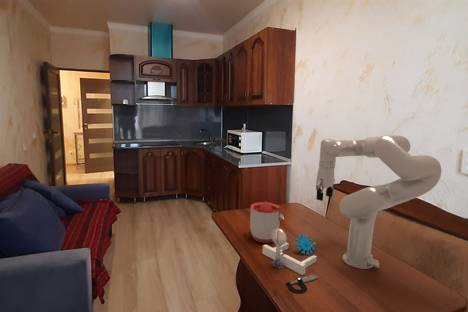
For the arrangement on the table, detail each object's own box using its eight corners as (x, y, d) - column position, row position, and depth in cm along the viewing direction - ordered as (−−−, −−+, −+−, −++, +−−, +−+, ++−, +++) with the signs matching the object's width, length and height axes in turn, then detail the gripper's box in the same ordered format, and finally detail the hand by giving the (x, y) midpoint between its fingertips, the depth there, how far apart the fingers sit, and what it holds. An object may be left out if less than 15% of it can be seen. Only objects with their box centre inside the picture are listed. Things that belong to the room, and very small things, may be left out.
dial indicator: (290, 265, 122) (292, 229, 119) (281, 270, 118) (283, 232, 115) (277, 259, 127) (280, 224, 124) (268, 263, 123) (270, 227, 120)
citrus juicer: (281, 247, 138) (284, 208, 135) (246, 243, 141) (248, 204, 138) (283, 234, 153) (285, 198, 150) (251, 230, 156) (252, 195, 153)
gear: (299, 254, 129) (294, 232, 135) (293, 258, 133) (288, 237, 139) (319, 254, 132) (314, 233, 138) (312, 258, 137) (307, 238, 143)
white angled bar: (321, 264, 124) (322, 255, 123) (302, 275, 115) (302, 265, 114) (281, 245, 140) (282, 237, 140) (262, 253, 131) (262, 245, 131)
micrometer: (294, 296, 102) (295, 290, 102) (283, 285, 108) (284, 279, 108) (327, 287, 108) (327, 281, 108) (315, 277, 114) (315, 271, 114)
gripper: (328, 161, 148) (325, 193, 151) (311, 165, 136) (308, 199, 139) (342, 163, 143) (339, 196, 146) (325, 167, 131) (322, 203, 133)
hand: (324, 198), depth 142 cm, fingers open, 9 cm apart
